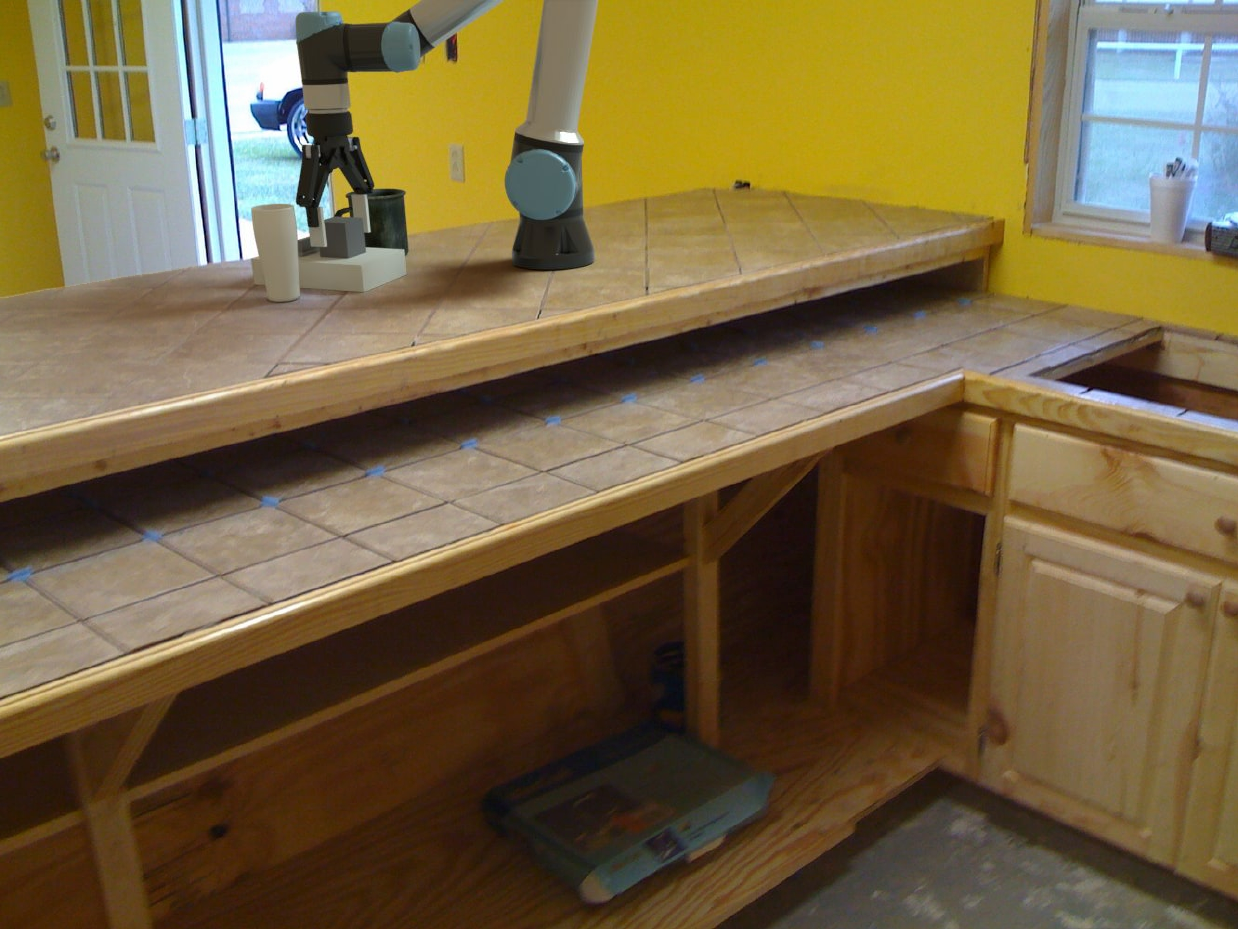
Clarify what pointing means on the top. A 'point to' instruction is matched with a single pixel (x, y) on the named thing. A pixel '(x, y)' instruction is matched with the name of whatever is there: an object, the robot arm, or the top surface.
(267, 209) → the drinking glass
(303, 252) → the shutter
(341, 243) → the plug
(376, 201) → the mug
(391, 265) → the socket
